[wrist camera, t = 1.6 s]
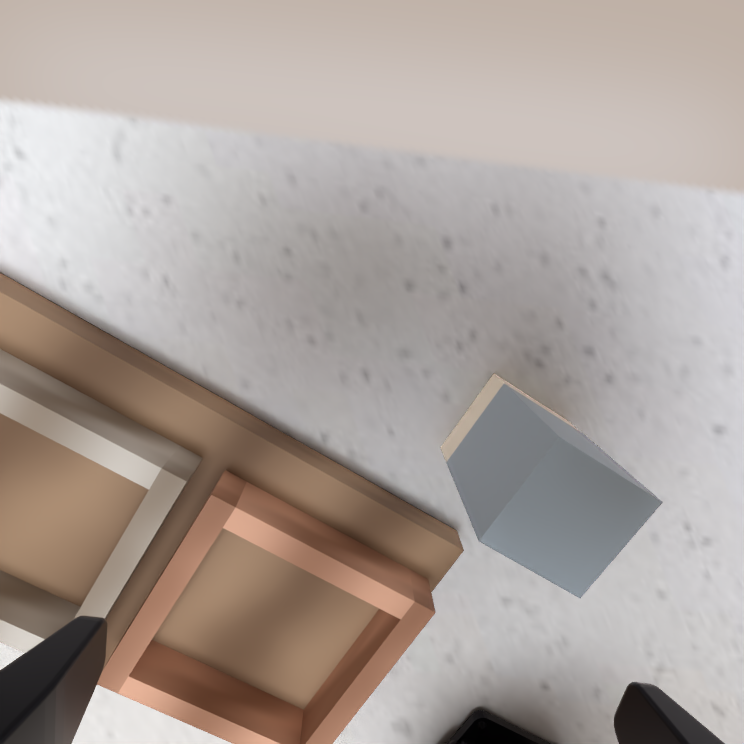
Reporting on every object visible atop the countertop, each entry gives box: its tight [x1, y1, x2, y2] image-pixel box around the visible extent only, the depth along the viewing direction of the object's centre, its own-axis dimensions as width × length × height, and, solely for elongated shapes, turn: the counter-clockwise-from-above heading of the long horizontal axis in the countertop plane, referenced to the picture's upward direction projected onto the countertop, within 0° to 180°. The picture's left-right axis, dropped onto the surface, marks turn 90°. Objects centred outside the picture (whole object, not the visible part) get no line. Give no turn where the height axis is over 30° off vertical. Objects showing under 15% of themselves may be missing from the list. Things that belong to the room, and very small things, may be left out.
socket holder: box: [0, 273, 464, 744], centre depth 21 cm, size 22×14×4 cm, turn 57°
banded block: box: [440, 374, 662, 598], centre depth 18 cm, size 4×4×7 cm
